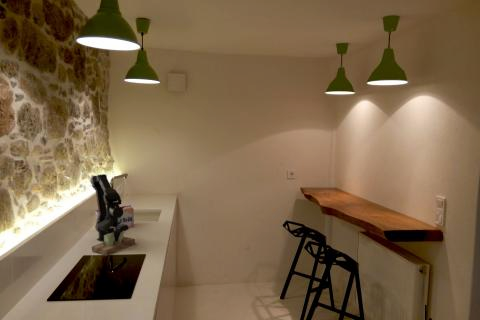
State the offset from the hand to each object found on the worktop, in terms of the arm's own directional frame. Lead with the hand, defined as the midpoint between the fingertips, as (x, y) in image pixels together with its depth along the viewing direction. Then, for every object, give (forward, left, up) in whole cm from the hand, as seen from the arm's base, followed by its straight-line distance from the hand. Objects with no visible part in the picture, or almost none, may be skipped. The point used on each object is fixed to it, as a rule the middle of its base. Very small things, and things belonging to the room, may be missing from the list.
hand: (113, 240), depth 194 cm
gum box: (-27, +24, -4) cm, 37 cm away
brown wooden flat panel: (0, 0, -4) cm, 4 cm away
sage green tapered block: (0, 0, -2) cm, 2 cm away
